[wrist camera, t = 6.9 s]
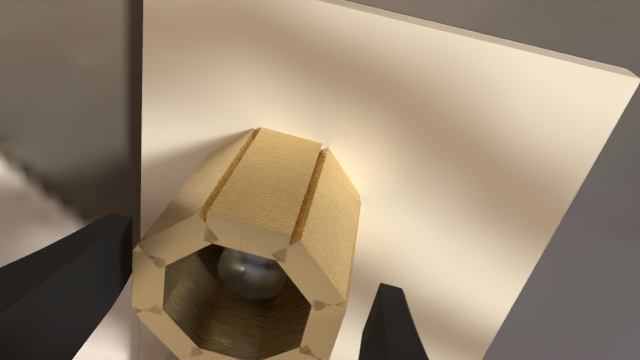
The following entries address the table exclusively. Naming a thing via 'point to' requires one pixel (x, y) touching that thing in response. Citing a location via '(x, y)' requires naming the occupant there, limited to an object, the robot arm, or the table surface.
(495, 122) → the plate
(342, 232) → the octagonal wooden pipe
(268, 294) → the pin
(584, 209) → the table surface
